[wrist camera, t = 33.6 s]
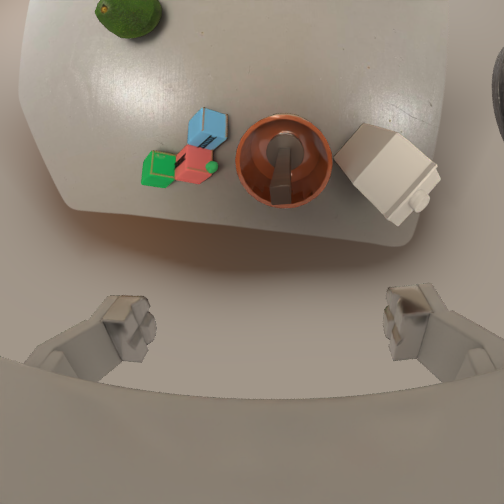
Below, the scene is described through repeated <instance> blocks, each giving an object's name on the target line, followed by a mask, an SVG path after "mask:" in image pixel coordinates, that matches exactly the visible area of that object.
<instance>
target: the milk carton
mask: <svg viewBox="0 0 504 504" xmlns="http://www.w3.org/2000/svg"><path fill="white" fill-rule="evenodd" d="M334 160H335V161H336V162H337V164H338V165H339V166H340V168H341V169H342V170H343V171H344V173H345V174H346V175H347V177H348V178H349V179H350V181H351V182H352V183H353V185H354V186H355V187H356V188H357V189H358V190H359V191H360V192H361V193H362V194H363V195H364V196H365V197H366V198H367V199H368V200H369V201H370V202H371V203H372V204H373V205H374V206H375V207H376V208H377V209H378V210H379V211H380V212H381V213H382V214H383V215H384V216H385V218H386V219H387V220H390V221H391V222H393V223H394V224H395V225H396V226H399V225H400V224H401V223H402V222H403V221H404V220H405V219H406V218H407V217H408V216H409V215H410V213H411V212H412V211H413V210H414V211H415V212H420V211H422V210H423V209H424V208H425V207H426V206H427V204H428V203H429V201H430V197H429V196H428V194H429V193H430V191H431V190H432V189H433V188H434V187H435V185H437V183H438V182H439V181H440V180H441V178H440V176H439V174H438V172H437V170H436V167H437V166H438V165H437V164H436V163H434V162H432V161H431V160H430V159H429V158H428V157H427V156H425V155H424V154H423V153H422V152H421V151H420V150H419V149H417V148H416V147H415V146H414V145H413V144H412V143H410V142H409V141H408V140H407V139H406V138H404V137H403V136H402V135H401V134H400V133H398V132H395V131H391V130H388V129H384V128H381V127H377V126H374V125H370V124H366V123H363V124H362V125H361V126H360V128H359V129H358V130H357V131H356V132H355V133H354V135H353V136H352V137H351V138H350V139H349V140H348V141H347V143H346V144H345V145H344V146H343V147H342V148H341V150H340V151H339V152H338V153H337V154H336V155H335V157H334Z"/></svg>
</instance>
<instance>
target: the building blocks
mask: <svg viewBox="0 0 504 504" xmlns="http://www.w3.org/2000/svg"><path fill="white" fill-rule="evenodd" d="M227 115H228V114H226V115H225V114H222V113H219V112H216V111H213V110H209V109H206V108H205V107H204V108H201V109H200V110H199V111H198V112H197V113H196V114H195V115H194V116H193V117H192V119H191V120H190V121H189V127H188V140H187V143H188V145H186V146H185V147H184V148H183V149H182V150H181V151H180V152H179V153H178V154H177V155H174V154H169V153H164V152H159V151H154V150H153V151H151V152H150V153H149V155H148V156H147V157H146V159H145V160H144V162H143V169H142V179H141V184H142V185H147V186H153V187H160V188H166V187H167V186H168V185H170V184H171V183H172V182H173V181H174V180H179V181H184V182H190V183H195V184H200V183H201V182H203V181H204V180H206V179H207V178H209V177H210V176H211V175H212V173H214V172H215V171H217V169H218V163H217V162H215V161H212V160H213V159H212V158H213V157H212V156H213V152H212V151H213V150H214V149H215V148H216V147H217V146H219V145H220V144H221V143H222V142H224V141H225V140H226V139H227V134H228V133H227V132H228V131H227V129H228V128H227V127H228V126H227V124H228V123H227V122H228V121H227V120H228V119H227V118H228V116H227Z"/></svg>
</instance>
